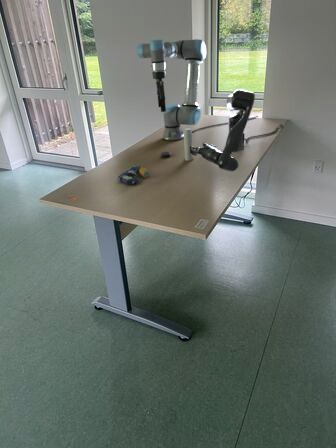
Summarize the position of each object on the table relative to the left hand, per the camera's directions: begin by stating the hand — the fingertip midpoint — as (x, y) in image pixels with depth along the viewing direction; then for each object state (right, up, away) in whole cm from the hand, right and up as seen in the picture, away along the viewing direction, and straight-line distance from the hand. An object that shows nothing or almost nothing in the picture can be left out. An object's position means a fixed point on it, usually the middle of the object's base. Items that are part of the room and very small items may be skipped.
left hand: (162, 109), depth 201 cm
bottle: (+17, -29, +7) cm, 34 cm away
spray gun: (-15, -43, -12) cm, 47 cm away
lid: (+2, -24, +14) cm, 28 cm away
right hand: (+20, -24, -7) cm, 32 cm away
